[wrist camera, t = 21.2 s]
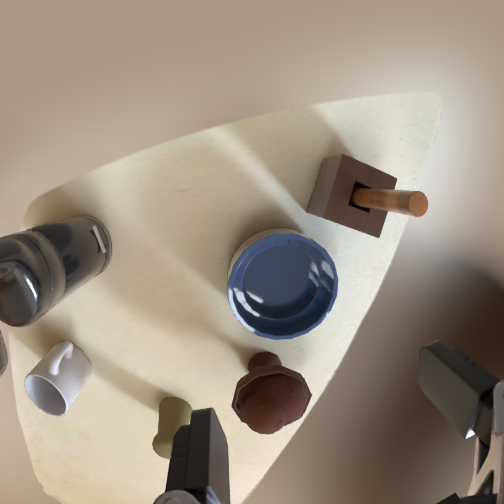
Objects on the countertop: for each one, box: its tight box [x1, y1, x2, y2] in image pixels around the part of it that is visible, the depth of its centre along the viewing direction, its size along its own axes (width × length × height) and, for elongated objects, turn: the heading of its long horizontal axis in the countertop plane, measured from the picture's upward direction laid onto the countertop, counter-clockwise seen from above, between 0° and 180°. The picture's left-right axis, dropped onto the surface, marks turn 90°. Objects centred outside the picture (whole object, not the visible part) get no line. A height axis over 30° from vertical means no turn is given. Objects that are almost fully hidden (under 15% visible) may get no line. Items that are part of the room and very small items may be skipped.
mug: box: [24, 341, 91, 416], centre depth 39 cm, size 12×8×11 cm
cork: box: [152, 398, 192, 459], centre depth 43 cm, size 6×6×11 cm
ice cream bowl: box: [231, 352, 312, 434], centre depth 40 cm, size 11×11×15 cm
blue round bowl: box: [228, 228, 338, 340], centre depth 41 cm, size 14×14×6 cm
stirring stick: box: [348, 188, 428, 217], centre depth 33 cm, size 2×2×20 cm
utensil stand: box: [307, 154, 397, 238], centre depth 39 cm, size 8×8×8 cm
